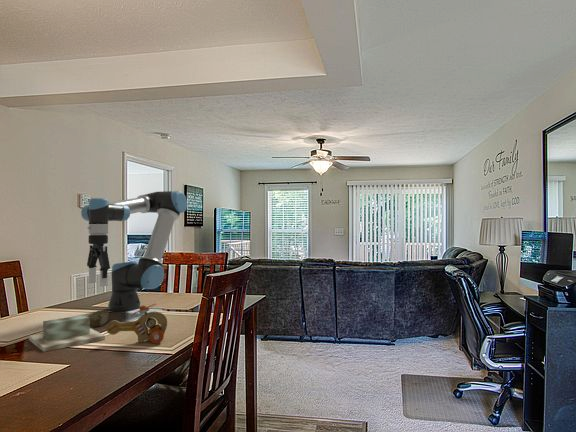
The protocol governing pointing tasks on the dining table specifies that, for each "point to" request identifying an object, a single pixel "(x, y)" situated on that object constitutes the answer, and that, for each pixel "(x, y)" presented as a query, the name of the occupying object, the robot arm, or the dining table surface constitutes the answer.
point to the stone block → (98, 318)
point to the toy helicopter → (142, 325)
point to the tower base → (65, 341)
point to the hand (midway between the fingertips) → (97, 284)
